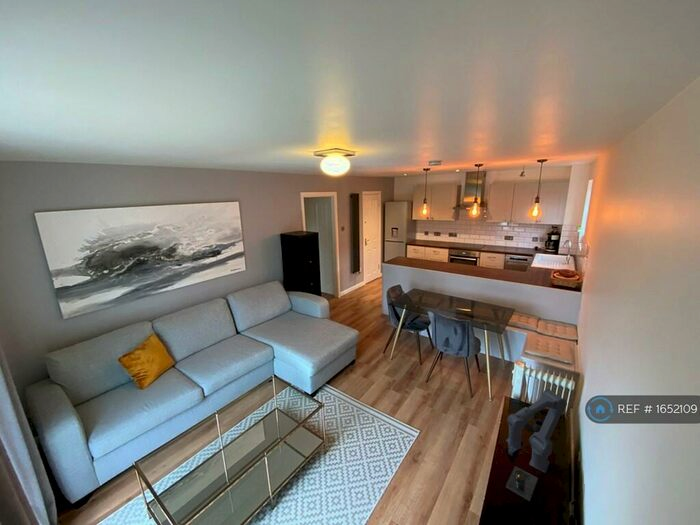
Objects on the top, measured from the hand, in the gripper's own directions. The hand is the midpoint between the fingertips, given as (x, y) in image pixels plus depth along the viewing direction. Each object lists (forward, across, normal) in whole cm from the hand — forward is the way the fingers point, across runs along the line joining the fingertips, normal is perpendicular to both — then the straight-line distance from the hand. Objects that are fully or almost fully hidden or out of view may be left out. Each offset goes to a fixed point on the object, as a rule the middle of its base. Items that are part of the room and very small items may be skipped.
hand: (514, 457), depth 159 cm
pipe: (+10, -39, +1) cm, 40 cm away
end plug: (+7, +8, +6) cm, 12 cm away
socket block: (+9, +5, +6) cm, 12 cm away
